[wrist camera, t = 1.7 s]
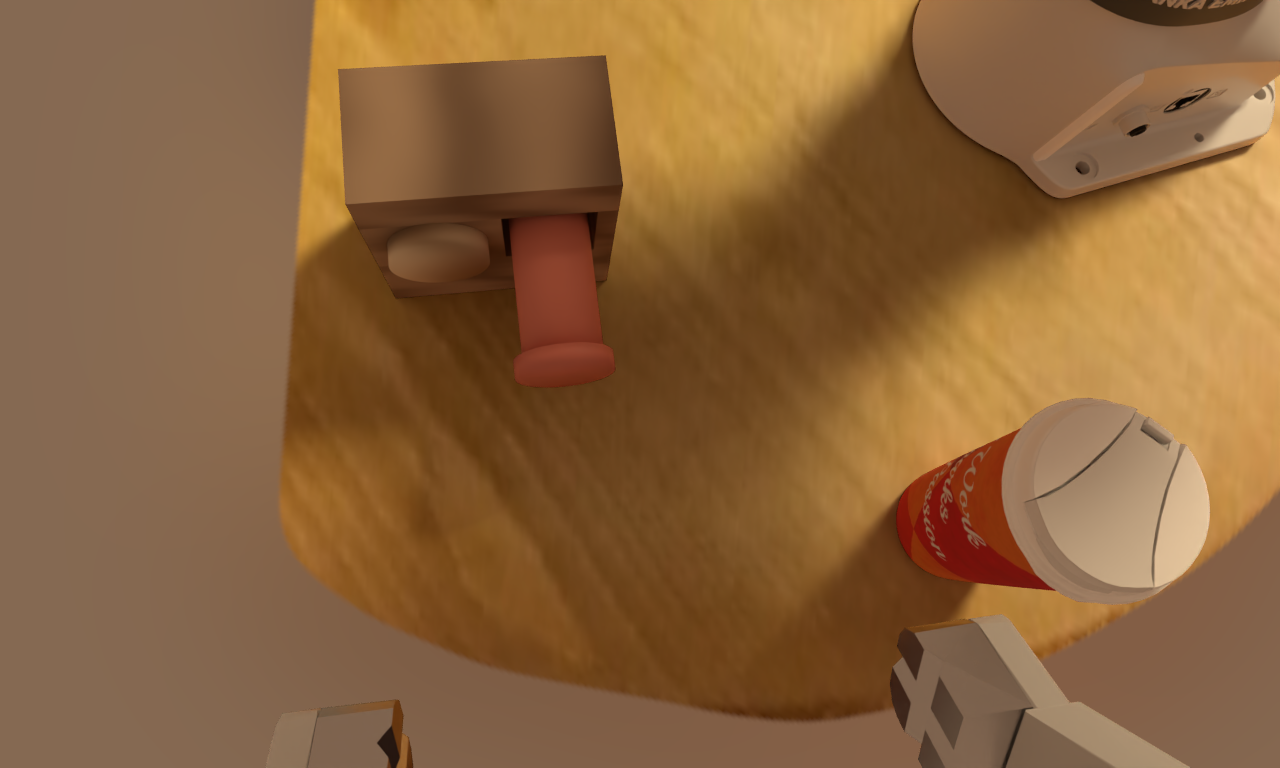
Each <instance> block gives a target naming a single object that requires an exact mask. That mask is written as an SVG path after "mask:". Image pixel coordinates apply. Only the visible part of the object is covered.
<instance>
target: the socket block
mask: <svg viewBox="0 0 1280 768" xmlns="http://www.w3.org/2000/svg"><path fill="white" fill-rule="evenodd" d="M338 74H339V92H340V111H341V130H342V148H343V167H344V186H345V204H346V206H347V208H348V210H349V212H350V214H351V216H352V217H353V219H354V221H355V223H356V225H357V227H358V229H359V230H360V232H361V234H362V236H363V238H364V240H365V242H366V243H367V245H368V247H369V249H370V251H371V253H372V255H373V257H374V258H375V260H376V262H377V264H378V266H379V268H380V270H381V271H382V273H383V275H384V277H385V279H386V281H387V283H388V284H389V286H390V288H391V290H392V292H393V294H394V296H395V297H396V298H406V297H417V296H429V295H441V294H452V293H464V292H476V291H487V290H499V289H511V288H515V281H514V271H513V261H512V251H511V241H510V231H509V221H508V218H521V217H534V216H548V215H561V214H574V213H587V217H588V225H589V233H590V241H591V249H592V258H593V266H594V274H595V281H604V280H607V274H608V269H609V263H610V257H611V251H612V245H613V240H614V234H615V228H616V222H617V216H618V211H619V205H620V199H621V193H622V187H623V181H622V173H621V166H620V159H619V151H618V144H617V136H616V129H615V121H614V114H613V106H612V99H611V92H610V84H609V77H608V69H607V62H606V55H605V56H586V57H567V58H547V59H528V60H509V61H489V62H470V63H451V64H432V65H412V66H393V67H374V68H355V69H338Z"/></svg>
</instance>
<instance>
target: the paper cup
mask: <svg viewBox="0 0 1280 768" xmlns="http://www.w3.org/2000/svg"><path fill="white" fill-rule="evenodd" d="M1136 410H1137V409H1136V408H1133V407H1129V406H1126V405H1121V404H1117V403H1113V402H1110V401H1106V400H1101V399H1093V398H1080V399H1071V400H1066V401H1061V402H1059V403H1056V404H1054V405H1051V406H1049V407H1046V408H1045V409H1043V410H1042V411H1040V412H1038V413H1037V414H1035V415H1034V416H1033V417H1032V418H1031V419H1030V420H1028V421H1027V422H1026V423H1025V424H1024V425H1023V427H1022V428H1021V429H1018V430H1016V431H1014V432H1012V433H1010V434H1008V435H1005V436H1003V437H1001V438H999V439H997V440H995V441H993V442H990V443H988V444H986V445H984V446H982V447H980V448H977V449H975V450H973V451H971V452H969V453H967V454H965V455H962V456H960V457H958V458H956V459H954V460H952V461H950V462H948V463H946V464H944V465H942V466H939V467H937V468H935V469H933V470H932V471H930V472H928V473H926V474H924V475H922V476H921V477H919V478H918V479H916V480H915V481H914V482H913V483H912V484H911V485H910V486H909V487H908V488H907V489H906V490H905V492H904V493H903V495H902V497H901V499H900V502H899V504H898V508H897V514H896V526H897V532H898V536H899V539H900V542H901V544H902V546H903V548H904V550H905V551H906V553H907V554H908V556H909V557H910V558H911V559H912V560H913V562H915V563H916V564H917V565H918V566H919V567H920V568H922V569H923V570H925V571H927V572H928V573H930V574H933V575H935V576H938V577H941V578H946V579H951V580H958V581H965V582H974V583H983V584H992V585H1002V586H1012V587H1022V588H1032V589H1043V590H1053V591H1058V592H1059V593H1061V594H1062V595H1064V596H1067V597H1069V598H1071V599H1073V600H1075V601H1078V602H1090V603H1101V604H1111V605H1114V604H1128V603H1132V602H1136V601H1140V600H1144V599H1146V598H1148V597H1150V596H1152V595H1155V594H1156V593H1158V592H1159V591H1161V590H1162V589H1164V588H1165V587H1166V586H1168V585H1169V584H1170V583H1171V582H1172V581H1174V580H1175V579H1177V578H1178V577H1179V576H1181V575H1182V574H1183V573H1184V572H1185V571H1186V570H1187V569H1188V568H1189V567H1190V566H1191V565H1192V564H1193V562H1194V560H1195V559H1196V557H1197V556H1198V554H1199V553H1200V551H1201V549H1202V546H1203V544H1204V542H1205V539H1206V535H1207V531H1208V527H1209V517H1210V505H1209V495H1208V491H1207V486H1206V482H1205V479H1204V477H1203V474H1202V471H1201V469H1200V467H1199V465H1198V463H1197V461H1196V459H1195V457H1194V455H1193V454H1192V453H1191V451H1190V450H1189V448H1188V447H1187V445H1185V444H1180V443H1179V442H1177V441H1176V440H1174V439H1173V438H1174V435H1173V434H1172V433H1170V432H1169V431H1168V430H1166V429H1165V428H1164V427H1162V426H1161V425H1159V424H1158V423H1157V422H1155V421H1154V420H1153V419H1151V418H1150V417H1145V416H1144V415H1142V414H1139V413H1138V412H1136Z"/></svg>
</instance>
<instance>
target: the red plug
mask: <svg viewBox="0 0 1280 768" xmlns="http://www.w3.org/2000/svg"><path fill="white" fill-rule="evenodd" d="M508 221H509V231H510V241H511V251H512V261H513V271H514V281H515V291H516V301H517V311H518V321H519V331H520V341H521V351H522V353H521V354H519V355H518V356H516V357H515V358H514V360H513V364H514V374H515V381H516V382H517V383H519V384H521V385H525V386H530V387H565V386H573V385H579V384H584V383H589V382H593V381H596V380H600V379H602V378H605V377H607V376H609V375H611V374H612V373H613V372H614V371H615V362H614V354H613V350H612V348H611V347H609V346H606V345H603V339H602V331H601V323H600V315H599V306H598V298H597V290H596V282H595V274H594V266H593V258H592V249H591V241H590V233H589V225H588V217H587V213H574V214H561V215H548V216H534V217H521V218H508Z"/></svg>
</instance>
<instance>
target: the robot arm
mask: <svg viewBox="0 0 1280 768" xmlns="http://www.w3.org/2000/svg"><path fill="white" fill-rule="evenodd" d="M912 38H913V51H914V57H915V61H916V65H917V69H918V72H919V74H920V77H921V79H922V82H923V84H924V86H925V88H926V90H927V91H928V93H929V95H930V96H931V98H932V100H933V101H934V102H935V104H936V105H937V107H938V108H939V109H940V110H941V112H942V113H943V114H944V115H945V116H946V117H947V118H948V119H949V120H950V121H951V122H952V123H953V124H954V125H955V126H956V127H957V128H958V129H959V130H961V131H962V132H963V133H964V134H966V135H967V136H968V137H970V138H971V139H973V140H974V141H976V142H977V143H979V144H981V145H983V146H984V147H986V148H988V149H990V150H992V151H994V152H996V153H998V154H1000V155H1002V156H1004V157H1006V158H1008V159H1009V160H1011V161H1013V162H1014V163H1016V164H1017V165H1018V166H1019V167H1020V168H1021V169H1022V170H1023V171H1024V172H1025V173H1026V174H1027V175H1028V176H1029V177H1030V179H1031V180H1032V181H1033V182H1034V183H1036V184H1037V185H1038V186H1039V187H1040V188H1041V189H1042V190H1043V191H1045V192H1046V193H1048V194H1049V195H1051V196H1053V197H1056V198H1068V197H1072V196H1075V195H1079V194H1082V193H1085V192H1089V191H1092V190H1096V189H1099V188H1103V187H1106V186H1110V185H1113V184H1117V183H1120V182H1124V181H1127V180H1131V179H1134V178H1137V177H1141V176H1144V175H1148V174H1151V173H1155V172H1158V171H1162V170H1165V169H1169V168H1172V167H1176V166H1179V165H1183V164H1186V163H1189V162H1193V161H1196V160H1200V159H1203V158H1207V157H1210V156H1214V155H1217V154H1221V153H1224V152H1228V151H1231V150H1234V149H1238V148H1241V147H1244V146H1248V145H1250V144H1253V143H1255V142H1257V141H1258V140H1259V139H1260V138H1261V137H1263V136H1264V135H1265V134H1266V133H1267V132H1268V131H1269V128H1270V125H1271V122H1272V119H1273V114H1274V108H1275V81H1274V79H1275V78H1276V77H1277V76H1279V75H1280V0H921V1H920V3H919V6H918V8H917V11H916V14H915V19H914V24H913V36H912ZM1076 168H1078V169H1080V171H1081V172H1082V174H1080V173H1079V172H1077V170H1076ZM897 647H898V649H899V650H900V652H901V654H902V656H903V657H902V658H901V659H900V660H899V661H898V662H897V663H896V664H895V665H894V666H893V668H892V674H891V680H890V687H891V695H892V702H893V705H894V708H895V712H896V714H897V717H898V719H899V721H900V724H901V726H902V728H903V730H904V732H906V733H907V734H908V735H910V736H911V737H913V738H914V739H915V740H917V741H918V742H920V743H921V748H920V753H919V758H918V760H919V762H920V764H921V766H922V768H1190V767H1188V766H1187V765H1185V764H1183V763H1181V762H1180V761H1178V760H1177V759H1175V758H1173V757H1171V756H1170V755H1168V754H1166V753H1165V752H1163V751H1161V750H1160V749H1158V748H1156V747H1154V746H1153V745H1151V744H1150V743H1148V742H1146V741H1145V740H1143V739H1141V738H1139V737H1138V736H1136V735H1134V734H1132V733H1131V732H1130V731H1128V730H1126V729H1124V728H1123V727H1121V726H1119V725H1118V724H1116V723H1114V722H1113V721H1111V720H1109V719H1108V718H1106V717H1104V716H1103V715H1101V714H1099V713H1098V712H1096V711H1094V710H1092V709H1091V708H1089V707H1088V706H1086V705H1084V704H1083V703H1081V702H1073V703H1070V702H1069V701H1068V699H1067V698H1066V697H1065V695H1064V694H1063V693H1062V691H1061V690H1060V688H1059V687H1058V686H1057V684H1056V683H1055V682H1054V680H1053V679H1052V677H1051V676H1050V675H1049V673H1048V672H1047V671H1046V669H1045V668H1044V667H1043V665H1042V664H1041V662H1040V661H1039V660H1038V658H1037V657H1036V655H1035V654H1034V653H1033V651H1032V650H1031V649H1030V647H1029V646H1028V644H1027V643H1026V642H1025V640H1024V639H1023V638H1022V636H1021V635H1020V633H1019V632H1018V631H1017V629H1016V628H1015V627H1014V625H1013V624H1012V622H1011V621H1010V620H1009V619H1008V618H1007V617H1005V616H1003V615H1002V614H1001V615H994V616H986V617H979V618H972V619H968V620H967V619H960V620H953V621H947V622H940V623H934V624H927V625H921V626H914V627H908V628H905V629H904V630H903V631H902V632H901V633H900V636H899V640H898V644H897ZM402 726H403V712H402V709H401V705H400V701H399V700H389V701H380V702H372V703H363V704H353V705H345V706H336V707H327V708H319V709H311V710H303V711H296V712H288V713H282V715H281V717H280V718H279V720H278V722H277V724H276V726H275V730H274V734H273V738H272V742H271V747H270V751H269V755H268V759H267V763H266V767H265V768H413V760H412V752H411V746H410V742H409V737H408V736H406V735H405V734H403V733H402V728H403V727H402Z"/></svg>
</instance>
